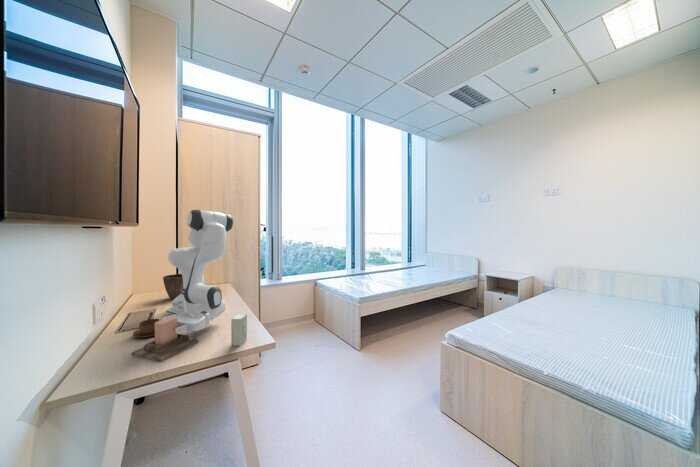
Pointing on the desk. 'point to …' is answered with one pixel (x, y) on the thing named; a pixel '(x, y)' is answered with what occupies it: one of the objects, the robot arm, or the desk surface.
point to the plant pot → (173, 285)
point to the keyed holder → (165, 348)
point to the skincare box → (238, 329)
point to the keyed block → (165, 331)
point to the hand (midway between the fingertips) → (166, 329)
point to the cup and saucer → (146, 328)
